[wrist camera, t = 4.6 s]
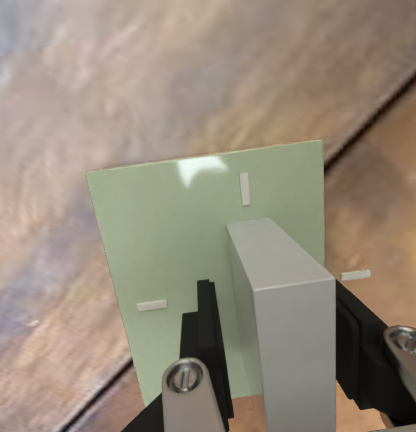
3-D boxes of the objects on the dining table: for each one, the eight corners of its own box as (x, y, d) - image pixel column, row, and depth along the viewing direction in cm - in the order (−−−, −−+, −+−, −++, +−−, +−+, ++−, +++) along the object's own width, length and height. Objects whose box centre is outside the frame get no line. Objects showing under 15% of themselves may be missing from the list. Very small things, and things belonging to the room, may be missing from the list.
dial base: (107, 166, 13) (82, 172, 10) (335, 135, 14) (376, 131, 11) (154, 366, 17) (145, 415, 14) (335, 339, 17) (366, 380, 14)
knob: (225, 223, 11) (255, 295, 6) (270, 216, 11) (341, 282, 6) (240, 352, 13) (275, 501, 8) (279, 346, 13) (341, 490, 8)
